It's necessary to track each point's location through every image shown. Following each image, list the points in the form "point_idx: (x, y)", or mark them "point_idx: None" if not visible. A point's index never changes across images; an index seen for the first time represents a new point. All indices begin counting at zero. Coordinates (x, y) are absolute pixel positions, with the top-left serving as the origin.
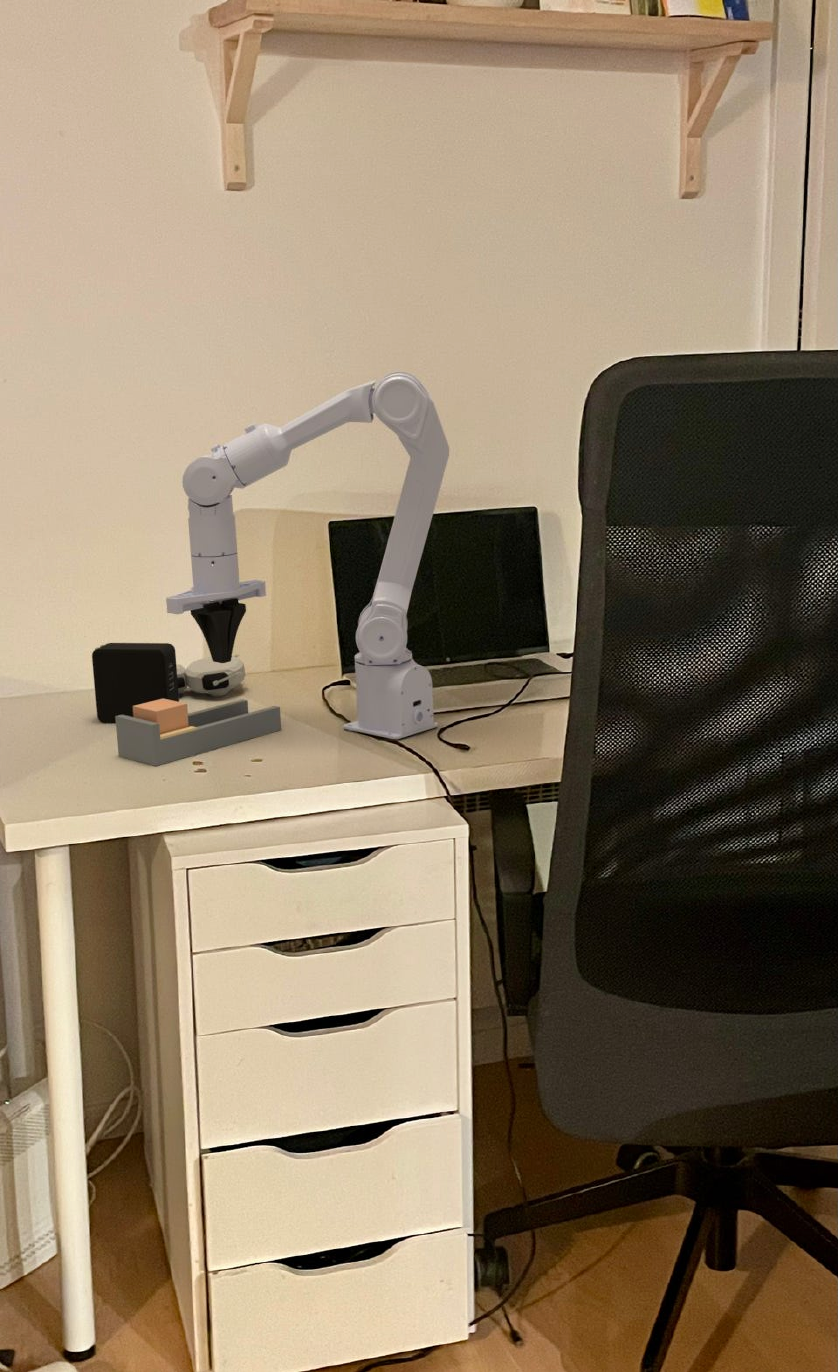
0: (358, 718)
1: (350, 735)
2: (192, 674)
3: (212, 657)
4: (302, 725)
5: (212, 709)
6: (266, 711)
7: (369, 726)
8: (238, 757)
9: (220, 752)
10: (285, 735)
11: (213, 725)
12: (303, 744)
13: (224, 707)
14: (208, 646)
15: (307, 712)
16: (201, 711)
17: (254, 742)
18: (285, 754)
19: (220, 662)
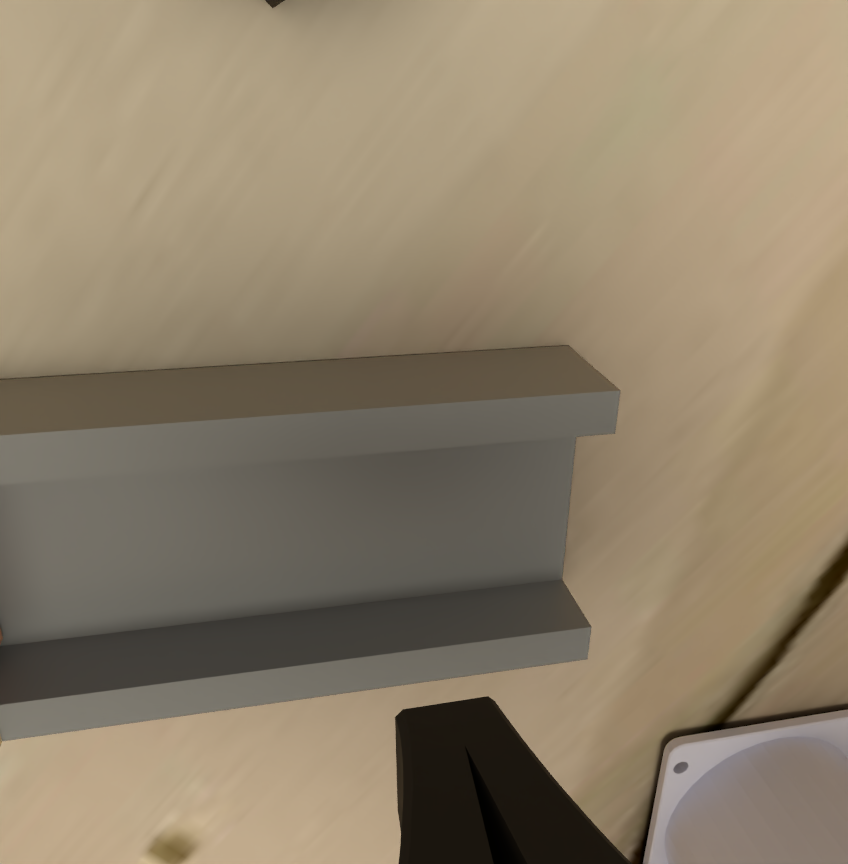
0: (702, 816)
1: (618, 797)
2: None
3: (400, 746)
4: (647, 589)
5: (344, 454)
6: (497, 669)
7: (669, 854)
8: (142, 784)
9: None
10: None
11: (128, 721)
12: None
13: (437, 444)
14: (404, 820)
15: (833, 440)
16: (268, 443)
17: None
18: (300, 847)
19: (398, 794)
